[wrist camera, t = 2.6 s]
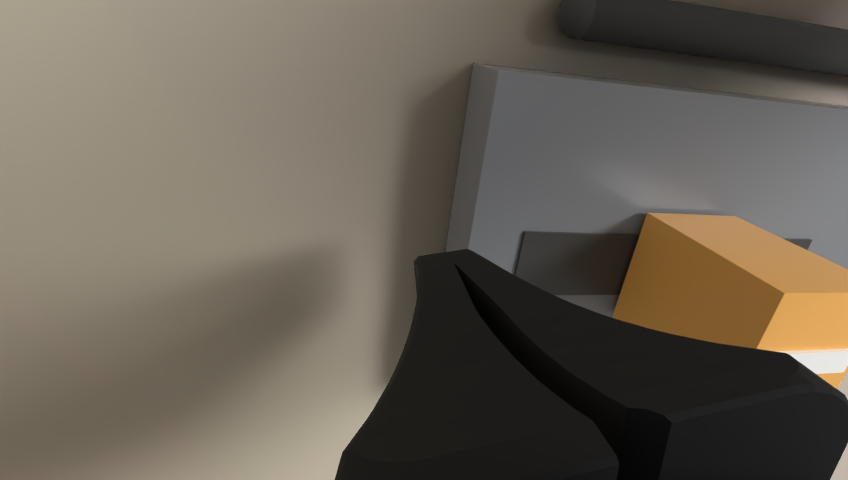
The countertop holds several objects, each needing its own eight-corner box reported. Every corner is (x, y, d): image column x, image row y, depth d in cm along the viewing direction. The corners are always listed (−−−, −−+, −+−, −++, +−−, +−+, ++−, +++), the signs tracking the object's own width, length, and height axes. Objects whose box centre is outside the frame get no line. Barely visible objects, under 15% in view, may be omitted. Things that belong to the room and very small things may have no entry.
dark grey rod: (923, 45, 15) (969, 47, 14) (903, 83, 15) (946, 88, 14) (555, -15, 12) (578, -19, 11) (545, 35, 12) (566, 37, 11)
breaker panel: (887, 110, 16) (963, 122, 14) (765, 346, 20) (811, 380, 18) (473, 63, 12) (500, 70, 10) (429, 360, 16) (442, 404, 15)
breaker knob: (734, 215, 14) (901, 295, 10) (693, 315, 15) (823, 418, 11) (647, 212, 13) (789, 295, 9) (611, 317, 14) (721, 428, 10)
